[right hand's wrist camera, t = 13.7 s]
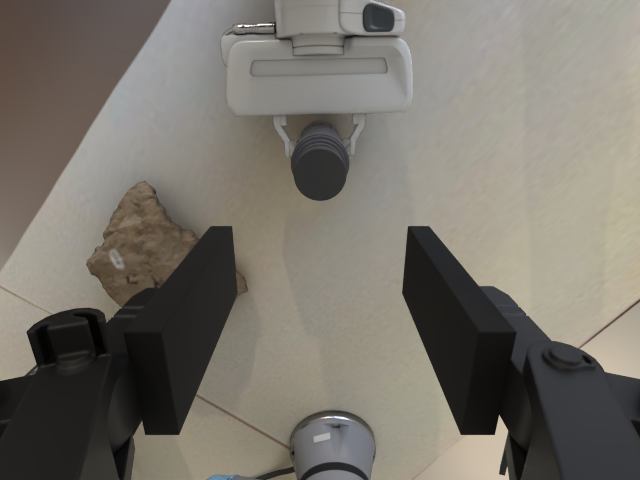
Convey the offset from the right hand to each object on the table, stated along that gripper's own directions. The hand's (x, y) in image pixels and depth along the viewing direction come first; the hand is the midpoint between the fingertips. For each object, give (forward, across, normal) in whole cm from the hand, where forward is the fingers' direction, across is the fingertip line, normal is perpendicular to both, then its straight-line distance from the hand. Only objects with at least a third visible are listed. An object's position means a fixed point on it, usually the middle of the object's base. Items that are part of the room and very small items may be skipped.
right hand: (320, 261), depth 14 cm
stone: (+39, -22, -17) cm, 48 cm away
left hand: (+32, 0, -1) cm, 32 cm away
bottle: (+39, 0, 0) cm, 39 cm away
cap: (+16, 0, 0) cm, 16 cm away
